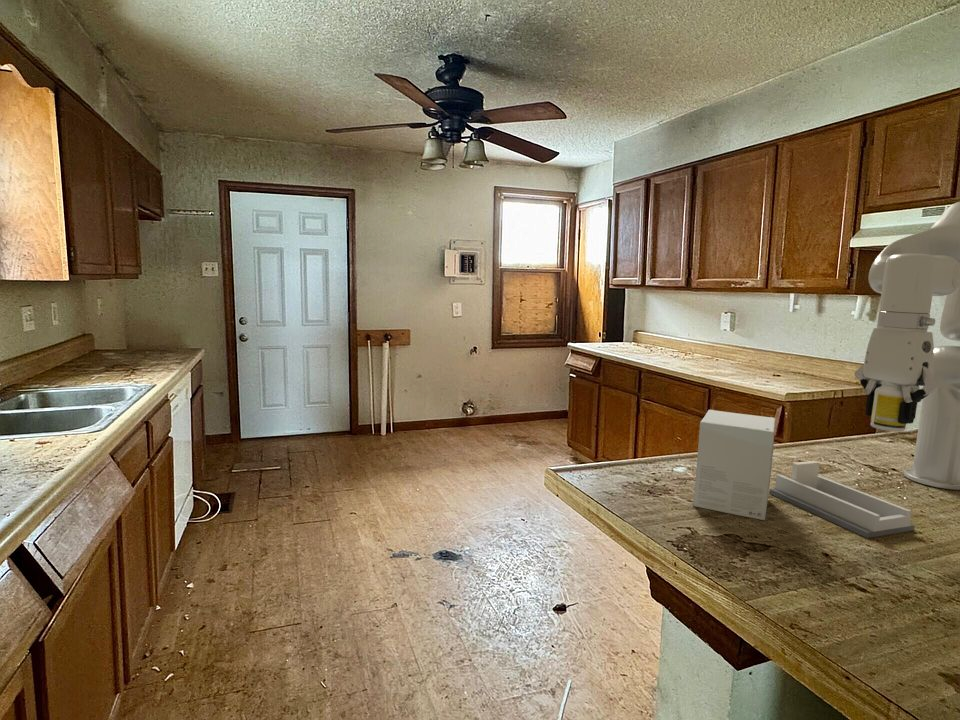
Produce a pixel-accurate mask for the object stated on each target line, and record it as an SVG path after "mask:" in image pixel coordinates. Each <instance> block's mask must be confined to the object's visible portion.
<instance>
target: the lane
mask: <svg viewBox="0 0 960 720" xmlns="http://www.w3.org/2000/svg"><path fill="white" fill-rule="evenodd" d="M769 494H770V495H772V496H774V497H776V498H778V499H781V500H782V501H784V502H787V503H790V504H791V505H794V506H795V507H798V508H800V509H802V510H805V511H807V512H809V513H811V514H814V515H816V516H817V517H820V518H822V519H824V520H827V521H828V522H830V523H833V524H836V525H837V526H840V527H842V528H844V529H846V530H847V531H850V532H852V533H854V534H857V535H859V536H861V537H864V538H866V539H869V538H876V537H882V536H889V535H895V534H900V533H905V532H913V531H915V526H916V525H915V524H913V523H911V516H912V510H910V509H908V508H906V507H903V506H900V505H897V504H895V503H892V502H890V501H887V500H884V499H882V498H879V497H878V496H874V495H871V494H869V493H866V492H863V491H861V490H858V489H856V488H853V487H851V486H848V485H845V484H843V483H840V482H837V481H835V480H833V479H830V478H828V477H825V476H822V475H819V474H818V479H817V487H816V489H815V488H812V487H810V486H807V485H805V484H802V483H800V482H797V481H795V480H793V479H791V477H787V476H785V475H783V474H776V477H775V486H774V488H769V493H768V495H769Z"/></svg>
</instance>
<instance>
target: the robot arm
mask: <svg viewBox="0 0 960 720" xmlns="http://www.w3.org/2000/svg"><path fill="white" fill-rule="evenodd" d="M868 284H869V286H870V288H871V289H872V290H873V291H874V292H875V293H878V294H880V300H879V301H880V302H879V309H878V316H877V323H876V327H873V330H872V332H871V335H870V337H869V340H868V344H867V348H866V352H865V356H864V361H863V364H862V365H860V367H859V368H857V369H856V370H855V371H854V373H853V374H854V376H855V377H856V379H857V380H858V381H859V383H860V385H861V386H862V388H863V390H864V393H865V394H866V395H867V396H866V404H865V416H867V417H871V415H872V409H873V402H874V395H875V390H876V388H878V387H881V386H882V383H881V382H882V381H886V382H890V383H893V384H896V385H902V391H903V396H904V402H901V403H900V409H899V416H898V422H899V423H901V424H906V425H908V424H909V425H910V424H913V423H914V420H915V419H916V414H917V407H918V403H921V406H920V407H921V408H920V414H919V422H918V427H917V428H918V429H917V436H916V442H915V449H914V456H913V463H912V464H913V465H912V467H911V466H910V467H907V468H904V470H903V476H904V477H905V478H907V479H909V480H911V481H913V482H916V483H919V484H923V485H926V486H929V487H935V488H939V489H946V490H953V491H954V490H957V491H960V345H959V346H958V345H939V346H935V345H934V335H933V332H932V331H928V329H929V327H931V326H934V325H935V324H936V319H935V318H934V317H933V318H931V314H930V313H931V308H932V300H933V297H943V296H946V297H945V301H944V304H943V309H942V313H941V314H942V315H941V318H940V322H939V323H940V324H939V331H940V333H941V335H942V336H943V337H944V338H945V339H947V340H950V341H954V342H955V341H956V342H960V201H957V202H955V203H952V204H951V205H950V206H949V207H947V208H946V209H945V210H944V211H943V213H942V214H941V215H940V216H939V217H938V219H937V220H936V221H935V222H934V224H933V225H931V227H930V228H928V229H925V230H921V231H919V232H916V233H913V234H911V235H908V236H905V237H902V238H900V239H897V240H895V241H893V242H891V243H890V244H888V245H887V246H886V247H884V249H883V250H882V251H881V252H880V253H879V254H878V255H877V256H876V257H875V259H874V261H873V262H872V264H871V267H870V269H869V272H868ZM934 346H935V347H934ZM920 387H921V388H920Z"/></svg>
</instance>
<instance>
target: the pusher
mask: <svg viewBox="0 0 960 720" xmlns="http://www.w3.org/2000/svg"><path fill="white" fill-rule="evenodd" d="M819 468H820V462H819V461H816V460H808V461H800V462H799V461H798V462H792V467H791V477H790V479H793V480H795V481H797V482H800V483H802V484H805V485H807V486H810V487H812V488H815V489H816V487H817V479H818V475H819Z"/></svg>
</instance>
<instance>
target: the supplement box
mask: <svg viewBox="0 0 960 720" xmlns="http://www.w3.org/2000/svg"><path fill="white" fill-rule="evenodd" d="M775 425H776V418H775V417H772V416H771V417H769V416H762V415H761V416H760V415H753V414H746V413H736V412H730V411H724V410H723V411H722V410H715V409H708V410H707V412H706V413H705V415H704V417H703V418H702V419H701V420H700V422H699V432H698V433H699V434H698V435H699V436H698V446H697V447H698V448H697V457H696V458H697V459H696V467H695V468H696V469H695V479H694V480H695V482H694V490H693V491H694V492H693V502H692V506H693V507H695V508H696V507H697V508H701V509H705V510H710V511H711V510H712V511H716V512H720V513H726V514H731V515H735V516H741V517H745V518H751V519H755V520H761V521H765V520H766V516H767V507H768V499H769V490H770V487H771V486H770V483H771V476H772V468H773V458H774V457H773V456H774V446H775V445H774V444H775Z"/></svg>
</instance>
